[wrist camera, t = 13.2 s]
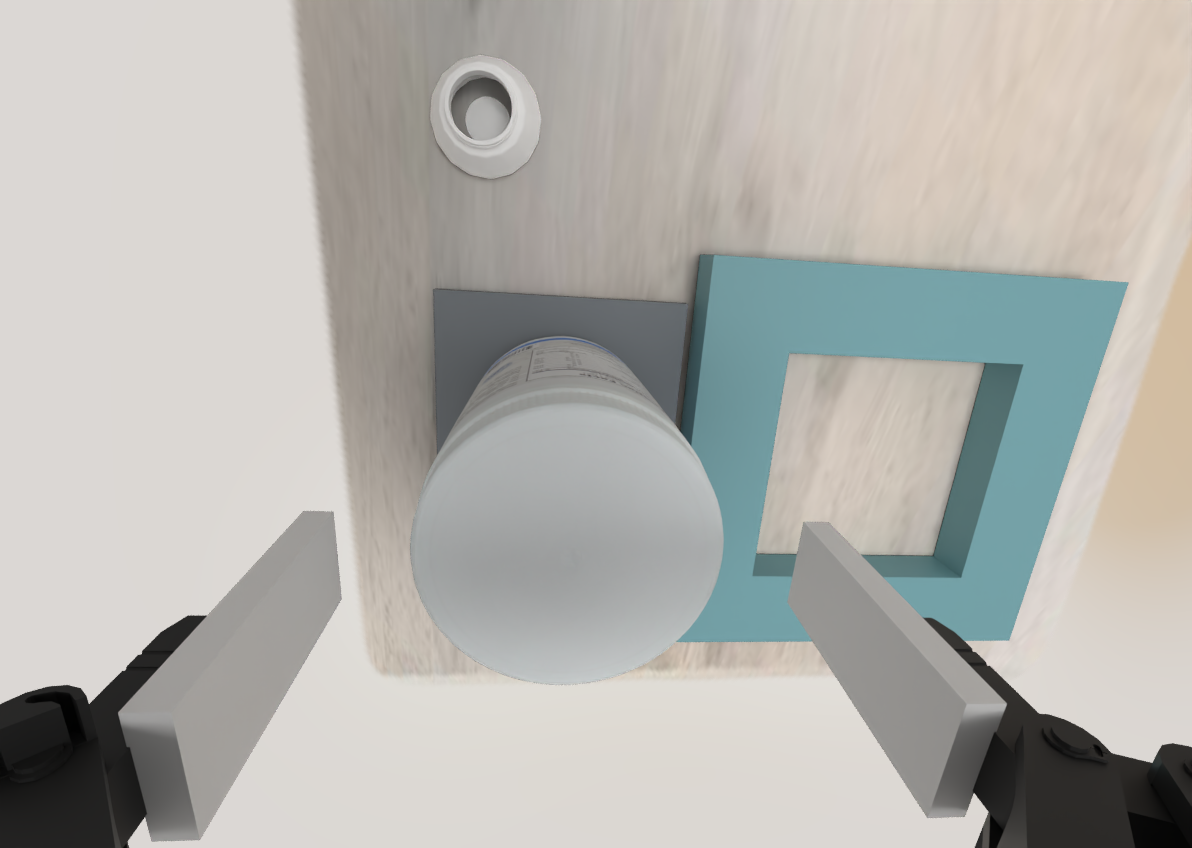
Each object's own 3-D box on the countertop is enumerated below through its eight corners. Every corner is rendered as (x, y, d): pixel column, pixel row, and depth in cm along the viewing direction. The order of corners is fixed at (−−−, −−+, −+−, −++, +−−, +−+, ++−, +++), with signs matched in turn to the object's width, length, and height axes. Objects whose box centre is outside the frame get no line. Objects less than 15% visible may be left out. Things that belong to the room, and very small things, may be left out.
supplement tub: (619, 515, 32) (675, 717, 18) (455, 481, 31) (377, 673, 17) (667, 354, 29) (777, 445, 15) (491, 309, 28) (435, 363, 14)
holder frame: (700, 254, 29) (714, 254, 26) (1083, 280, 31) (1128, 282, 28) (659, 615, 35) (667, 642, 33) (979, 615, 37) (1009, 640, 35)
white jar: (561, 137, 27) (496, 37, 25) (562, 123, 24) (490, 9, 22) (479, 200, 27) (411, 106, 26) (471, 194, 24) (394, 88, 23)
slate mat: (435, 288, 28) (433, 289, 27) (685, 303, 29) (688, 304, 29) (440, 519, 32) (438, 524, 31) (661, 523, 33) (664, 528, 33)
